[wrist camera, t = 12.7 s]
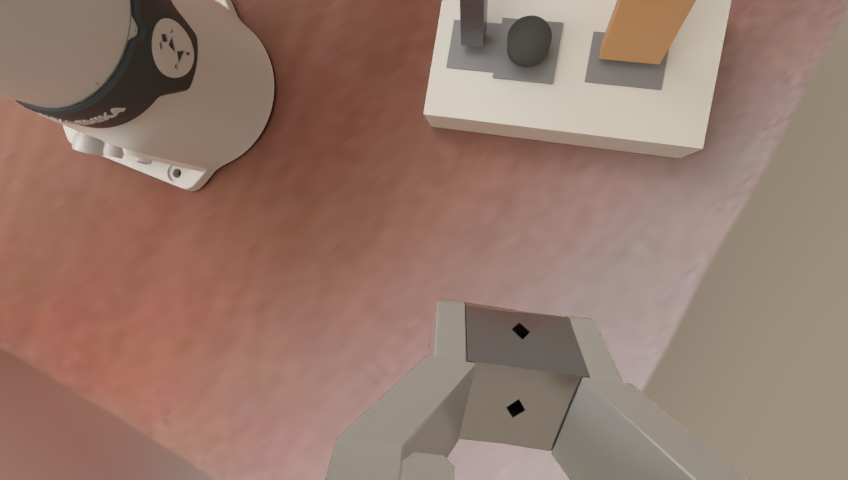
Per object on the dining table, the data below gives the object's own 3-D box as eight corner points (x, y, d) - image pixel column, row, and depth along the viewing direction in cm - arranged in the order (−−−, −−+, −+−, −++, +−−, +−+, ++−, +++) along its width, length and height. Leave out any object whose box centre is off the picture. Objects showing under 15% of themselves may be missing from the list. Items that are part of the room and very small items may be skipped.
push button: (503, 65, 32) (503, 57, 30) (510, 23, 32) (511, 13, 30) (545, 69, 31) (547, 61, 30) (553, 26, 31) (555, 17, 30)
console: (431, 126, 38) (422, 113, 34) (452, -3, 37) (446, -32, 33) (679, 158, 34) (704, 148, 30) (706, 17, 34) (735, -13, 30)
